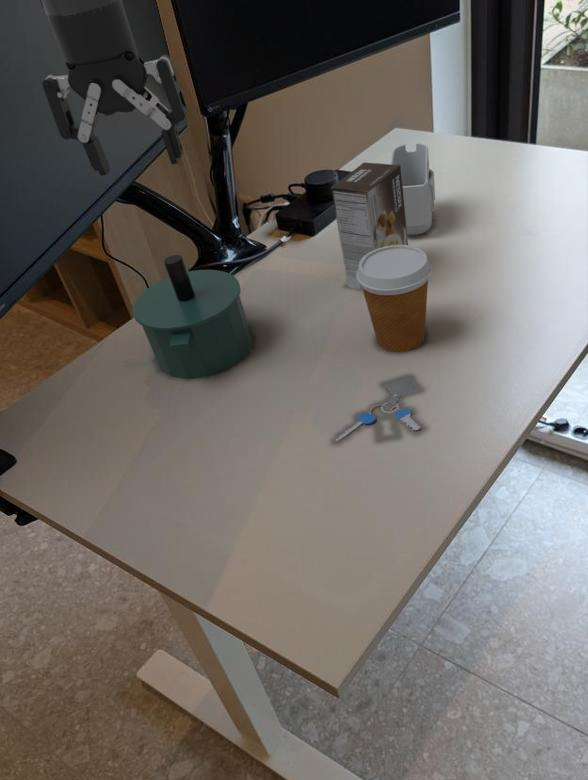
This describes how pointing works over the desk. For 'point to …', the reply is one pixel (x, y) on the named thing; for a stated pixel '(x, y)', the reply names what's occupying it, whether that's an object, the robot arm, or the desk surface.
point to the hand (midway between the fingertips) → (140, 167)
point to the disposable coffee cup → (396, 294)
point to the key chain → (397, 391)
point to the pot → (203, 345)
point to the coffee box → (369, 213)
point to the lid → (185, 297)
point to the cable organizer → (416, 187)
